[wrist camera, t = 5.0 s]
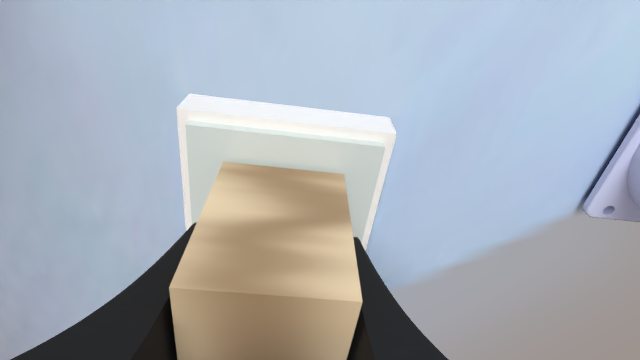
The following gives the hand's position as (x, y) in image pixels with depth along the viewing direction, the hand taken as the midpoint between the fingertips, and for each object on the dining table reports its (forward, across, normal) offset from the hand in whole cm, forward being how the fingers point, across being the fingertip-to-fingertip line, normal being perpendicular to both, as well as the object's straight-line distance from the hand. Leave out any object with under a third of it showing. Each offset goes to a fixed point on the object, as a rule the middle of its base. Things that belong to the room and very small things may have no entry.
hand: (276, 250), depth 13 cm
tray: (+4, 0, 0) cm, 4 cm away
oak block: (+2, 0, 0) cm, 2 cm away
